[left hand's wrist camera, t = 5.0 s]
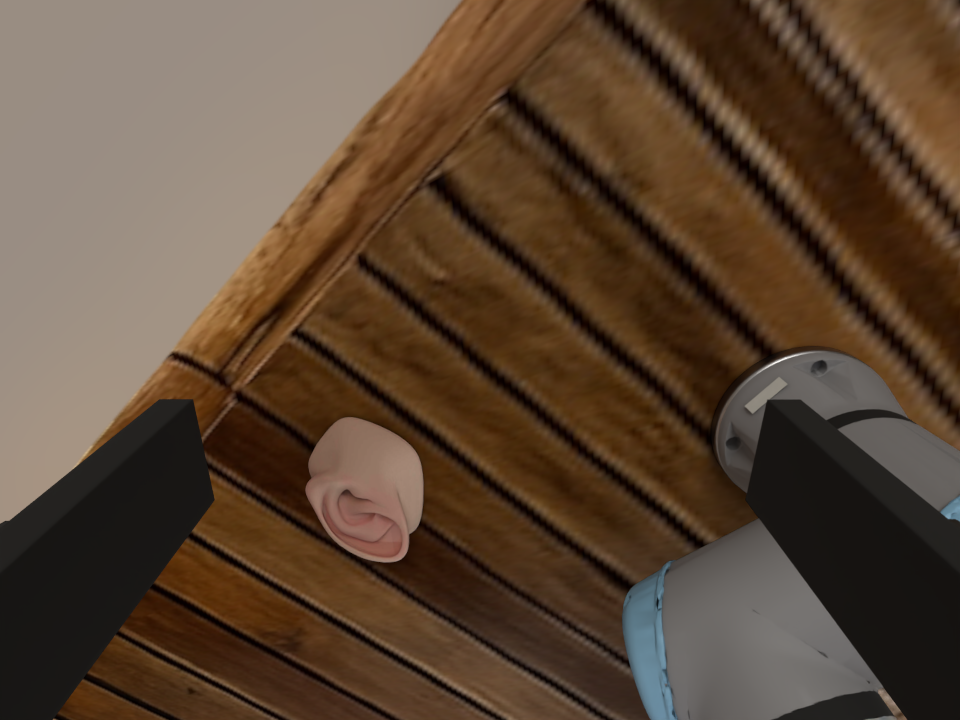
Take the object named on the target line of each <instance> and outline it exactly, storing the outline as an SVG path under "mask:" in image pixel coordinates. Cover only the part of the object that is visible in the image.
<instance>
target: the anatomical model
mask: <svg viewBox="0 0 960 720" xmlns="http://www.w3.org/2000/svg"><path fill="white" fill-rule="evenodd" d="M308 466H309V472H310V475H311V477H312V478H311V479H310V480H309V482H308V483H307V485H306V495H307V497H308V499H309V501H310V503H311V505H312V507H313V508H314V510H315V512H316V514H317V516H318V518H319V520H320V522H321V523H322V525H323V527H324V528H325V530H326V531H327V533H328V534H329V535H330V536H331V538H332V539H333V540H334V541H335V542H337V543H338V544H339V545H340V546H342V547H343V548H345V549H346V550H348V551H349V552H351V553H353V554H355V555H357V556H359V557H362V558H365V559H368V560H372V561H377V562H395V561H398V560H400V559H402V558H403V557H404V556H405V554H406V553H407V550H408V546H409V534H410V533H412V532H413V531H414V530H415V529H416V528H417V527H418V525H419V522H420V519H421V515H422V507H423V473H422V466H421V462H420V459H419V457H418V455H417V453H416V451H415V450H414V449H413V448H412V447H411V445H410V444H408V443H407V442H406V441H405V440H404V439H402V438H401V437H399V436H398V435H396V434H394V433H393V432H391V431H389V430H387V429H385V428H383V427H381V426H378V425H376V424H374V423H371V422H368V421H365V420H362V419H359V418H353V417H346V418H342V419H340V420H338V421H337V422H335V423H334V424H333V425H332V426H331V427H330V428H329V429H328V430H327V432H326V433H325V434H324V435H323V437H322V438H321V439H320V441H319V442H318V443H317V445H316V447H315V449H314V451H313V453H312V455H311V457H310V459H309V464H308Z"/></svg>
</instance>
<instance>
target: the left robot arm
mask: <svg viewBox="0 0 960 720" xmlns="http://www.w3.org/2000/svg"><path fill="white" fill-rule="evenodd" d="M711 440H712V447H713V451H714V454H715V457H716V459H717V461H718V463H719V464H720V466H721V467H722V469H723V470H724V471H725V473H726V474H727V475H728V477H729V478H730V479H731V480H732V481H733V482H734V483H735V484H736V485H737V486H738V487H740V488H741V489H742V490H743V491H744V492H746V493H747V495H746V501H747V503H748V504H749V506H750V507H751V508H752V510H753V511H754V512H755V514H756V515H757V516H758V519H756V520H754V521H752V522H750V523H748V524H746V525H744V526H743V527H741V528H739V529H737V530H735V531H733V532H731V533H729V534H727V535H725V536H723V537H722V538H720V539H718V540H716V541H714V542H712V543H710V544H708V545H706V546H704V547H702V548H700V549H698V550H696V551H694V552H692V553H690V554H688V555H686V556H684V557H682V558H680V559H678V560H674V561H669V562H667V563H666V564H665V565H664V566H663V567H662V569H660V570H659V571H657V572H656V573H654V574H652V575H650V576H649V577H647V578H645V579H644V580H642V581H640V582H638V583H637V584H635V585H634V586H633V587H632V588H631V589H630V590H629V592H628V593H627V595H626V598H625V601H624V605H623V614H622V625H623V634H624V641H625V646H626V651H627V655H628V659H629V663H630V666H631V670H632V673H633V676H634V680H635V683H636V686H637V688H638V691H639V694H640V697H641V700H642V702H643V705H644V707H645V710H646V712H647V714H648V716H649V718H650V719H651V720H897V719H896V718H895V717H894V715H893V714H892V712H891V711H890V709H889V708H888V707H887V705H886V704H885V702H884V701H883V699H882V698H881V697H880V695H879V694H878V689H881V688H883V687H884V689H885V690H886V691H887V693H888V694H889V695H890V697H891V698H892V699H893V701H894V702H895V704H896V705H897V706H898V708H899V709H900V710H901V712H902V713H903V714H904V716H905V717H906V718H907V720H960V451H959V450H957V449H955V448H954V447H952V446H951V445H949V444H948V443H946V442H944V441H943V440H941V439H940V438H938V437H936V436H935V435H933V434H932V433H930V432H929V431H927V430H925V429H924V428H922V427H921V426H919V425H917V424H916V423H914V422H913V421H911V420H910V419H908V417H907V415H906V414H905V412H904V411H903V409H902V408H901V406H900V405H899V403H898V402H897V400H896V399H895V397H894V395H893V394H892V392H891V391H890V389H889V388H888V386H887V385H886V383H885V382H884V381H883V379H882V378H881V377H880V376H879V375H878V374H877V373H876V372H875V371H874V370H873V369H872V368H870V367H869V366H868V365H866V364H865V363H863V362H862V361H860V360H858V359H857V358H855V357H853V356H851V355H849V354H847V353H845V352H843V351H840V350H837V349H833V348H829V347H821V346H806V347H798V348H792V349H788V350H785V351H781V352H778V353H776V354H773V355H771V356H769V357H767V358H765V359H763V360H761V361H759V362H758V363H756V364H754V365H753V366H751V367H750V368H749V369H747V370H746V371H745V372H744V373H742V374H741V375H740V376H739V377H738V378H737V379H736V380H735V381H734V382H733V383H732V385H731V386H730V387H729V388H728V390H727V391H726V392H725V394H724V395H723V397H722V399H721V400H720V402H719V404H718V407H717V409H716V412H715V414H714V418H713V422H712V429H711ZM213 501H214V495H213V490H212V486H211V481H210V476H209V472H208V467H207V462H206V458H205V453H204V448H203V444H202V439H201V435H200V430H199V425H198V421H197V416H196V411H195V407H194V402H193V399H159V400H158V401H157V402H156V403H154V404H153V405H152V406H151V407H150V408H148V409H147V410H146V411H145V412H143V413H142V414H141V415H140V416H138V417H137V418H136V419H135V420H133V421H132V422H131V423H130V424H129V425H127V426H126V427H125V428H124V429H122V430H121V431H120V432H119V433H117V434H116V435H115V436H114V437H112V438H111V439H110V440H109V441H107V442H106V443H105V444H104V445H103V446H101V447H100V448H99V449H98V450H96V451H95V452H94V453H93V454H91V455H90V456H89V457H88V458H86V459H85V460H84V461H83V462H82V463H80V464H79V465H78V466H77V467H75V468H74V469H73V470H72V471H70V472H69V473H68V474H67V475H66V476H64V477H63V478H62V479H61V480H59V481H58V482H57V483H56V484H54V485H53V486H52V487H51V488H50V489H48V490H47V491H46V492H44V493H43V494H42V495H41V496H40V497H38V498H37V499H36V500H35V501H33V502H32V503H31V504H30V505H28V506H27V507H26V508H25V509H23V510H22V511H21V512H20V513H18V514H17V515H16V516H15V517H14V518H12V519H11V520H10V521H4V522H3V523H1V524H0V720H53V718H54V717H55V716H56V714H57V713H58V712H59V710H60V709H61V708H62V706H63V705H64V704H65V702H66V701H67V699H68V698H69V697H70V695H71V694H72V693H73V691H74V690H75V689H76V687H77V686H78V685H79V683H80V682H81V680H82V679H83V678H84V676H85V675H86V674H87V672H88V671H89V670H90V668H91V667H92V666H93V664H94V663H95V661H96V660H97V659H98V657H99V656H100V655H101V653H102V652H103V651H104V649H105V648H106V647H107V645H108V644H109V642H110V641H111V640H112V638H113V637H114V636H115V634H116V633H117V632H118V630H119V629H120V628H121V626H122V625H123V624H124V622H125V621H126V619H127V618H128V617H129V615H130V614H131V613H132V611H133V610H134V609H135V607H136V606H137V605H138V603H139V602H140V600H141V599H142V598H143V596H144V595H145V594H146V592H147V591H148V590H149V588H150V587H151V586H152V584H153V583H154V581H155V580H156V579H157V577H158V576H159V575H160V573H161V572H162V571H163V569H164V568H165V567H166V565H167V564H168V563H169V561H170V560H171V558H172V557H173V556H174V554H175V553H176V552H177V550H178V549H179V548H180V546H181V545H182V544H183V542H184V541H185V539H186V538H187V537H188V535H189V534H190V533H191V531H192V530H193V529H194V527H195V526H196V525H197V523H198V522H199V520H200V519H201V518H202V516H203V515H204V514H205V512H206V511H207V510H208V508H209V507H210V506H211V504H212V503H213Z"/></svg>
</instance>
